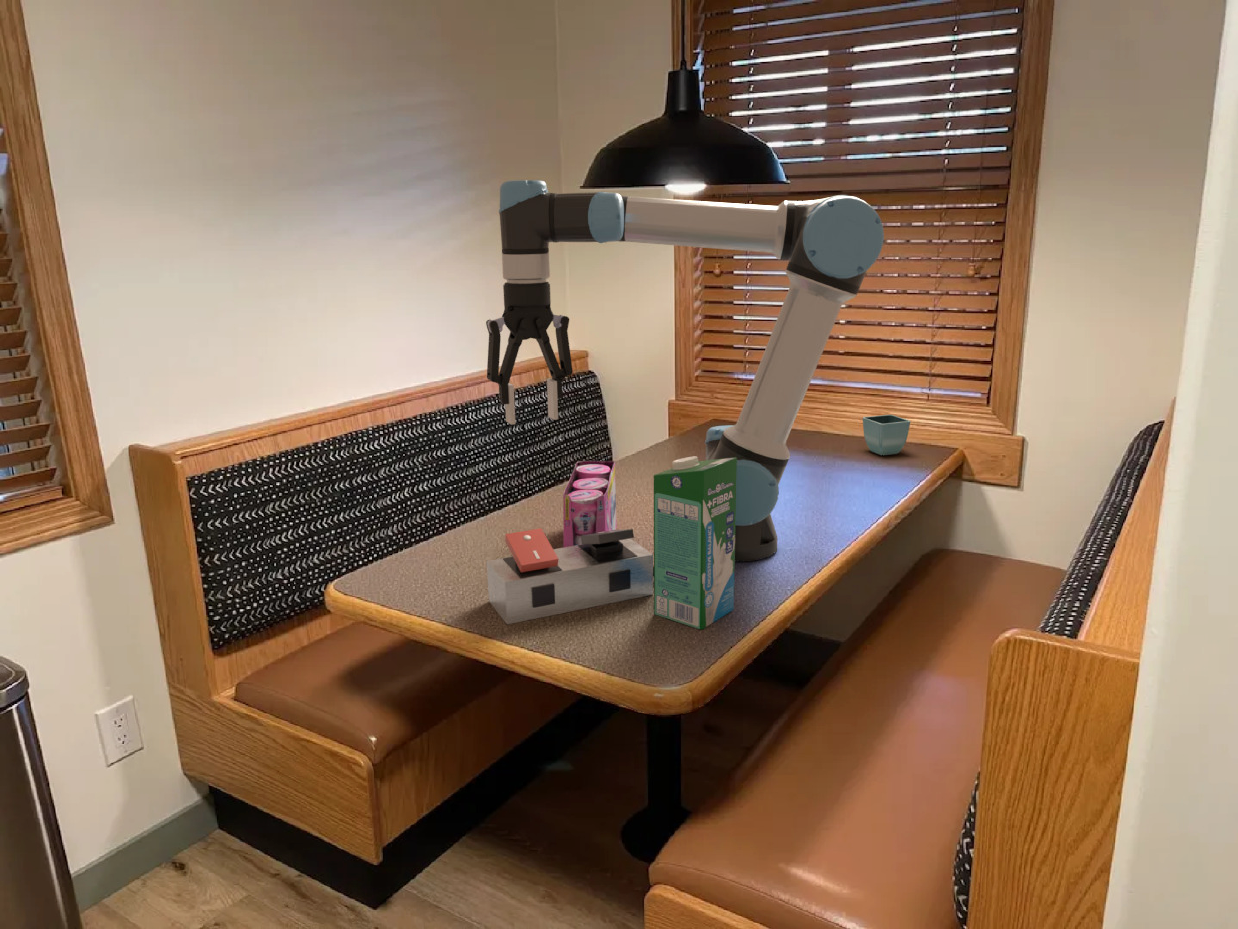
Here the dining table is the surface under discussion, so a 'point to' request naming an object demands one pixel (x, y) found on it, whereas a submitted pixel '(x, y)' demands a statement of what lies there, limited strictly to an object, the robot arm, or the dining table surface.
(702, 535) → the milk carton
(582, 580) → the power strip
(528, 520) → the dining table surface
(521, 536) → the red rocker
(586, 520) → the gum box
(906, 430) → the flower pot
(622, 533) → the black rocker
